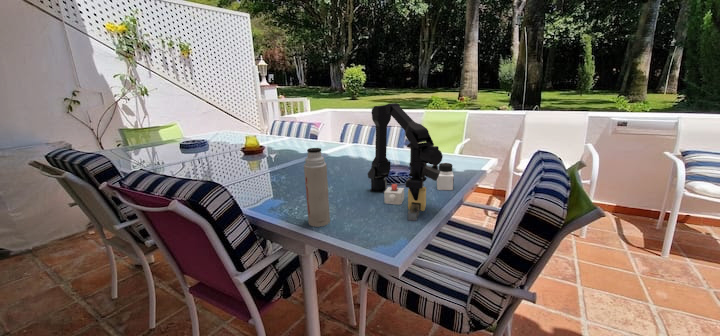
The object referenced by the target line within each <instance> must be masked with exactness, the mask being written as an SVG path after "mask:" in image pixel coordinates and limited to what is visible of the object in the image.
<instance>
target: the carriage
mask: <svg viewBox="0 0 720 336" xmlns="http://www.w3.org/2000/svg"><path fill="white" fill-rule="evenodd" d="M413 202H414V203H421V209H420V212H424V211H425V209H426V206H427V186H423V187H422V188H421V189H420V191H419V195H418V200H414V198H413V196H412V193H411V191H410V189H409V188H407V210H408V211H409V210H410V207H411V205H412V203H413Z"/></svg>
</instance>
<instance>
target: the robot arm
mask: <svg viewBox="0 0 720 336" xmlns="http://www.w3.org/2000/svg"><path fill="white" fill-rule="evenodd" d="M392 118H393V119H394V120H395V122H396V123H398V125H399V126H400V127H401V128H402V129H403V130H404V134H405V135H404V136H405V137H406V139H407V141H408V142H409V143H408V144H407V145H406V148H409V149H410V154H409V156H410V159H409V161H410V162H409V164H408V165H409V170H410V171H409V173H408V176H409V178H407V180H406V181H405V187H404V188H406V189H410V191H411V193H412V196H413V198H414V200H418V195H419V191H420V189H421V188H422V187H425V184H424V183H425V181H426V180H427V178H429V179H431V180H433V181H435V182H437V178H438V176H439V174H440V171H439V164H441V163H442V161H443V157H444V156H443V153H442V151H441V150H440V149H439V146H437V145H436V146H435V144H434V141H433V139H432V138H431V135H430V132H429V130H428V128H426V127H425V126H424V125H422V124H421V123H417V122H415V121H414V120H413V118H411V116H409V115H408V114H407V112H405V111H404V110H403V108H402V107H401V106H400V104H399V103H397V102H392V103H391V102H390V103H387V104H385V105H374V106H373V107H372V109H371V120H372V122H373V123H374V125H375V153H374V154H375V157H374V158H373V159H372V162H371V168H370V169H369V171H368V172H367V177H368V179H370V181H371V182H370V183H371V185H370V186H371V188H370V192H377V193H384V192H385V191H386V189H387V188H388V186H387V179H386V178H388V177H389V175H390V170H392V168H391V164H392V163H391V161H390V160H388V158H387V146H388V145H387V142H388V138H387V137H388V125H389V123H390V122H391V120H392ZM427 164H428V165H427Z"/></svg>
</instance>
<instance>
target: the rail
mask: <svg viewBox="0 0 720 336" xmlns="http://www.w3.org/2000/svg"><path fill="white" fill-rule="evenodd" d="M420 212H421V203H414V202H413V203H412V205H411V207H410V210H409V209H408V212H407V220H408V221H414V222H417V221H418V217H419V214H420Z"/></svg>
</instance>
